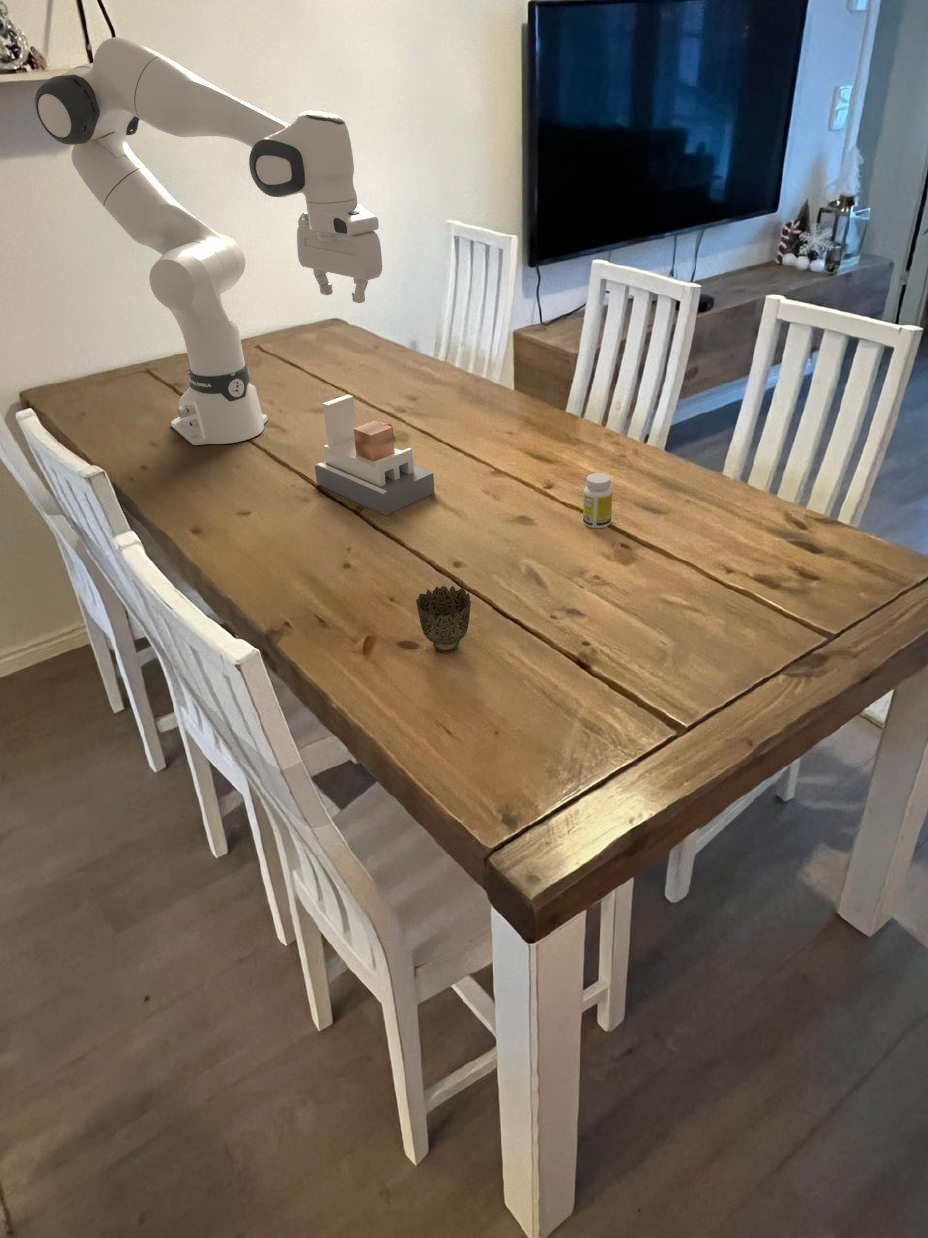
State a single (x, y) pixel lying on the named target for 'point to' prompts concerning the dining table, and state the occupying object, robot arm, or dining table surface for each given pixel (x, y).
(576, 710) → the dining table surface
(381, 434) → the reddish brown cube
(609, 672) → the dining table surface
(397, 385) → the dining table surface
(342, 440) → the white stand
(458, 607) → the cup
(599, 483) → the supplement bottle
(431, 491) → the block
